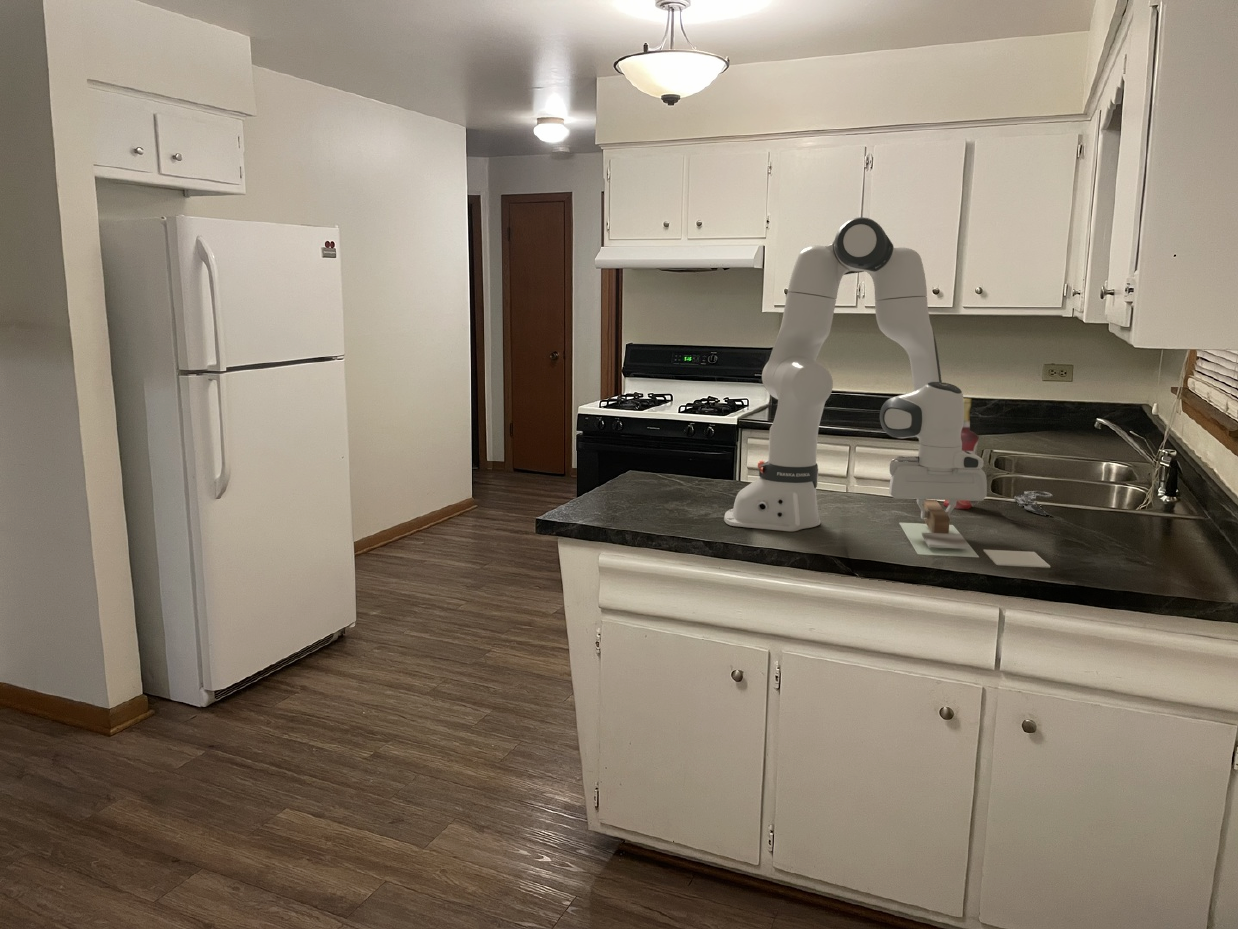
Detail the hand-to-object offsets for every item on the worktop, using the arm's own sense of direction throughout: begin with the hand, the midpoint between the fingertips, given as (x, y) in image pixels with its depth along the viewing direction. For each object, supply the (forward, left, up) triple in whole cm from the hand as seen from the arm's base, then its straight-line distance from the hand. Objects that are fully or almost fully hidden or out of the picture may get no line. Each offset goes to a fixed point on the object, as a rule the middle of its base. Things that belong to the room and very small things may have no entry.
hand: (935, 518), depth 198 cm
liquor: (+11, +28, -5) cm, 31 cm away
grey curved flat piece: (+32, +39, -5) cm, 51 cm away
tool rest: (0, -5, -4) cm, 6 cm away
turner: (0, -4, -2) cm, 4 cm away
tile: (+13, -12, -4) cm, 18 cm away
